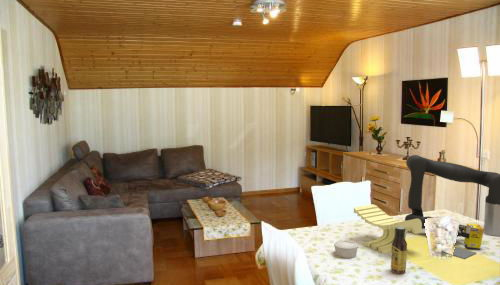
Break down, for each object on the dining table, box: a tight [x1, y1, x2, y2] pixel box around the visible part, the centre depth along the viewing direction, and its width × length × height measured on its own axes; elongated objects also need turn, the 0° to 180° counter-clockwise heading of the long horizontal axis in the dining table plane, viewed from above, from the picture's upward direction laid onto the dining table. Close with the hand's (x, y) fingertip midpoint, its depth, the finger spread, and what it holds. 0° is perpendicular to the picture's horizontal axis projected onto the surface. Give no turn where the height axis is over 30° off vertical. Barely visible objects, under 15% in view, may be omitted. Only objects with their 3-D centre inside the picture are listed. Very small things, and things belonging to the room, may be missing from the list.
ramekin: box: [333, 240, 359, 259], centre depth 200 cm, size 11×11×5 cm
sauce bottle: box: [390, 226, 408, 274], centre depth 179 cm, size 6×6×20 cm
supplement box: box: [463, 223, 484, 251], centre depth 206 cm, size 6×6×11 cm
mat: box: [452, 246, 477, 260], centre depth 200 cm, size 11×11×1 cm
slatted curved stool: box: [353, 204, 423, 254], centre depth 209 cm, size 30×16×18 cm, turn 27°
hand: (473, 234), depth 206 cm, fingers closed on supplement box, 8 cm apart
